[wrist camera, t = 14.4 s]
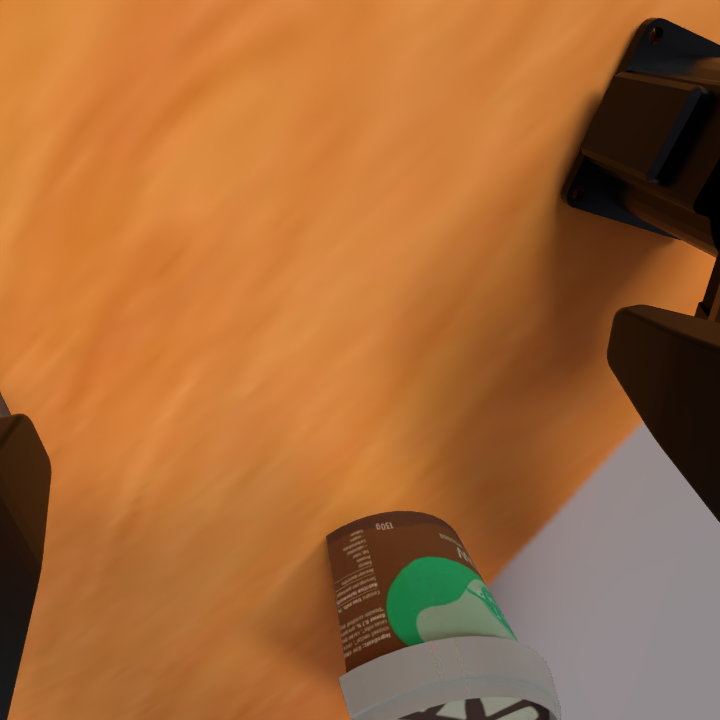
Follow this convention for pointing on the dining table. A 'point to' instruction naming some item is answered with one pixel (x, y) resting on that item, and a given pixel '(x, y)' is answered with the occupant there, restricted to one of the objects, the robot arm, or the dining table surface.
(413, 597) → the food container
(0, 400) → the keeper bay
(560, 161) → the dining table surface
